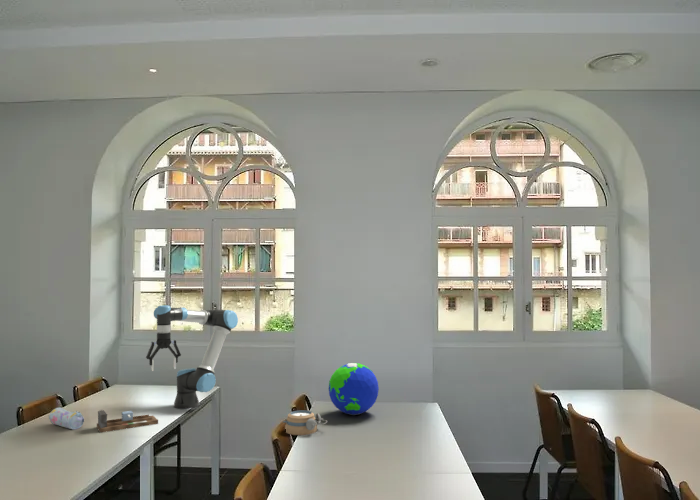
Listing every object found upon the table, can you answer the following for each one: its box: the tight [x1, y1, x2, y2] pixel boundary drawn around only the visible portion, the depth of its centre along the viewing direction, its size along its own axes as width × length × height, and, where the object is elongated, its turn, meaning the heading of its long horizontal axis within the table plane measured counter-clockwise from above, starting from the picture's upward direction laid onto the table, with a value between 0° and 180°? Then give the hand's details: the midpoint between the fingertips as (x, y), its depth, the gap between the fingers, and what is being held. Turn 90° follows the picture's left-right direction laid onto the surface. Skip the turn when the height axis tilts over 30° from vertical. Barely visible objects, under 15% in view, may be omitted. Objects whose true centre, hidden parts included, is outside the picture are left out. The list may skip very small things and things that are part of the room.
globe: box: [328, 362, 379, 416], centre depth 332 cm, size 30×30×30 cm
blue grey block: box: [121, 410, 134, 421], centre depth 310 cm, size 5×9×5 cm, turn 32°
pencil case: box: [48, 407, 85, 430], centre depth 311 cm, size 21×9×10 cm, turn 59°
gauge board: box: [96, 409, 159, 433], centre depth 312 cm, size 30×12×9 cm, turn 122°
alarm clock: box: [282, 409, 328, 436], centre depth 299 cm, size 17×9×23 cm
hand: (163, 369), depth 325 cm, fingers open, 12 cm apart
